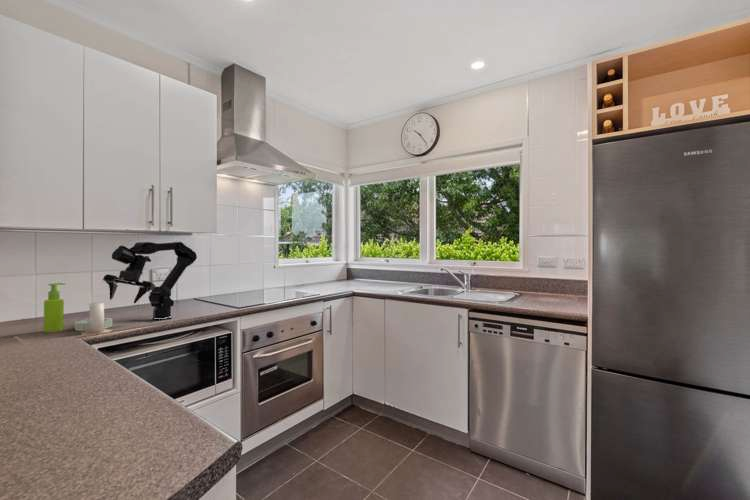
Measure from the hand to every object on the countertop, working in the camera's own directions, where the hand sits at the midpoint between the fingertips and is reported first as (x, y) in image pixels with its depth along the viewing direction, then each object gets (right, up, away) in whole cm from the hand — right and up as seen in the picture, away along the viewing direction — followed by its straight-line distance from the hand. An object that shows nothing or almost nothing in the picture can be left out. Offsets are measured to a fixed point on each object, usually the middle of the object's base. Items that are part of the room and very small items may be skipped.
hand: (122, 301), depth 150 cm
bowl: (-10, -11, -3) cm, 15 cm away
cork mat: (-2, -11, -12) cm, 16 cm away
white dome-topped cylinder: (-2, -11, -12) cm, 16 cm away
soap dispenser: (-22, -11, -8) cm, 26 cm away
